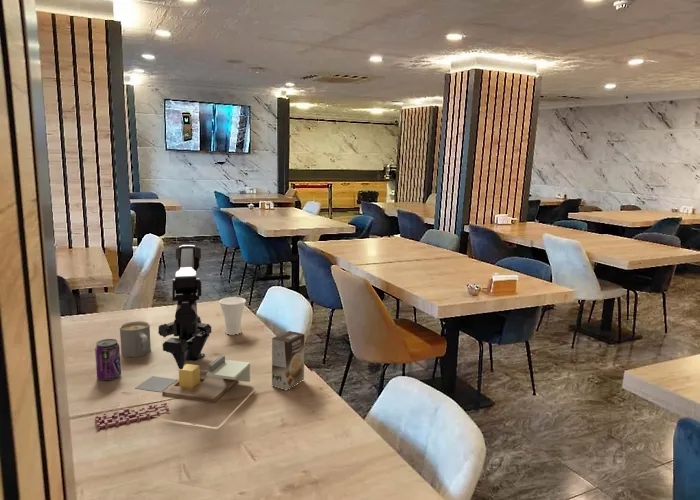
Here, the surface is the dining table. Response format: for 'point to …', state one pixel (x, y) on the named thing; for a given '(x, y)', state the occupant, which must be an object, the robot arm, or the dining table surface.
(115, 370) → the beverage can
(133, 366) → the dining table surface
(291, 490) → the dining table surface
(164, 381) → the coaster
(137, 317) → the dining table surface
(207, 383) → the board
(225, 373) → the lid
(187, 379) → the block
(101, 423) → the chocolate bar
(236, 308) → the cup
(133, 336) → the coffee mug
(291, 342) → the food box
